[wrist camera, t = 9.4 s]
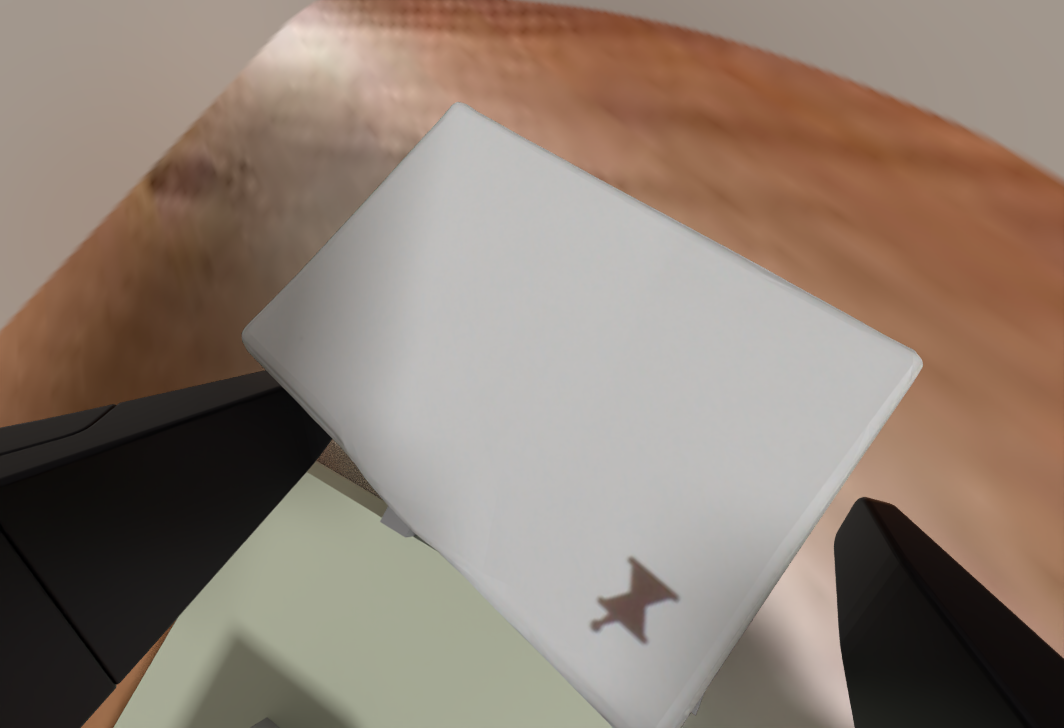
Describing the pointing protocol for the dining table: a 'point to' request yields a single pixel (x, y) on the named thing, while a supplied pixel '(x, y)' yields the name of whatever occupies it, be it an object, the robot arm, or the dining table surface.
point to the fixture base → (347, 634)
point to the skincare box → (580, 405)
